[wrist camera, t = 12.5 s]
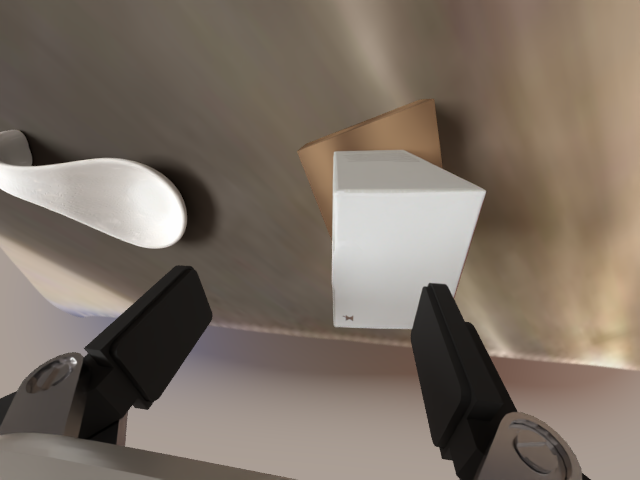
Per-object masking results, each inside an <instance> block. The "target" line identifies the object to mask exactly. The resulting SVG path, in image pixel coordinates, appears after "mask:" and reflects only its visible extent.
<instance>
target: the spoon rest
mask: <svg viewBox="0 0 640 480" xmlns="http://www.w3.org/2000/svg"><path fill="white" fill-rule="evenodd" d="M31 165H32V155H31V151H30V149H29V146H28V141H27V139H26V137H25V135H24V134H23V133H22V132H20V131H18V130H9V131H4V132H0V189H2V190H4V191H5V192H7V193H10V194H12V195H14V196H16V197H18V198H21V199H24V200H26V201H29V202H32V203H34V204H37V205H40V206H42V207H45V208H47V209H50V210H52V211H55V212H57V213H60V214H62V215H65V216H67V217H69V218H72V219H74V220H77V221H79V222H81V223H83V224H86V225H88V226H90V227H92V228H95V229H97V230H99V231H102V232H104V233H106V234H108V235H111V236H113V237H115V238H118V239H121V240H123V241H125V242H128V243H131V244H134V245H137V246H141V247H145V248H165V247H169V246H171V245H173V244H175V243H176V242H178V241H179V240H180V239H181V237H182V236H183V234H184V232H185V229H186V225H187V211H186V206H185V203H184V200H183V198H182V196H181V194H180V192H179V191H178V189H177V188H176V187H175V185H174V184H173V183H172V182H171V181H170V180H169V179H168V178H167V177H166V176H164V175H163V174H161V173H160V172H158V171H157V170H155V169H153V168H151V167H149V166H147V165H145V164H142V163H139V162H136V161H132V160H126V159H119V158H96V159H88V160H80V161H74V162H67V163H60V164H53V165H44V166H31Z"/></svg>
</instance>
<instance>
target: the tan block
mask: <svg viewBox="0 0 640 480" xmlns="http://www.w3.org/2000/svg"><path fill="white" fill-rule="evenodd" d="M373 150H405V151H407V152H409V153H411V154H413V155H415V156H417V157H419V158H422V159H423V160H425V161H428V162H430V163H432V164H433V165H436V166H438V167H440V168H442V169H443V167H442V159H441V151H440V143H439V135H438V127H437V119H436V111H435V102H434V99H421V100H418V101H415V102H413V103H410V104H407V105H405V106H402V107H400V108H397V109H395V110H392V111H389V112H387V113H384V114H382V115H379V116H377V117H374V118H371V119H369V120H366V121H364V122H361V123H359V124H356V125H353V126H351V127H348V128H346V129H343V130H341V131H338V132H335V133H333V134H330V135H328V136H325V137H323V138H320V139H317V140H315V141H312V142H310V143H307V144H305V145H304V146H303V147H302V148H300V149H299V150H298V151H297V152H298V155H299V158H300V160H301V163H302V165H303V168H304V170H305V173H306V176H307V178H308V181H309V183H310V186H311V188H312V191H313V193H314V196H315V199H316V201H317V204H318V206H319V209H320V211H321V214H322V217H323V219H324V222H325V224H326V227H327V229H328V232H329V235H330V237H331V240H332V221H333V157H334V152H335V151H373Z"/></svg>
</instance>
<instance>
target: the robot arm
mask: <svg viewBox="0 0 640 480" xmlns="http://www.w3.org/2000/svg"><path fill="white" fill-rule="evenodd" d="M211 320H212V311H211V309H210V306H209V303H208V300H207V298H206V295H205V292H204V290H203V287H202V284H201V282H200V279H199V276H198V274H197V272H196V271H195V270H194V269H193V267H191V266H179V265H178V266H175V267H174V268H173V269H172V270H170V271H169V272H168V273H167V274H166V275H165V276H164V277H163V278H162V279H160V280H159V281H158V282H157V283H156V284H155V285H154V286H153V287H152V288H150V289H149V290H148V291H147V292H146V293H145V294H144V295H143V296H142V297H140V298H139V299H138V300H137V301H136V302H135V303H134V304H133V305H132V306H130V307H129V308H128V309H127V310H126V311H125V312H124V313H123V314H122V315H120V316H119V317H118V318H117V319H116V320H115V321H114V322H113V323H112V324H110V325H109V326H108V327H107V328H106V329H105V330H104V331H103V332H102V333H100V334H99V335H98V336H97V337H96V338H95V339H94V340H93V341H92V342H90V343H89V344H88V345H87V346H86V347H85V348H84V349H85V350H86V351H87V352H88V354H87V355H86V356H85V357H83V356H82V355H81V354H80V353H76V352H72V353H66V354H63V355H59V356H57V357H55V358H53V359H50V360H49V361H47V362H45V363H44V364H42V365H40V366H39V367H38V368H36V369H35V370H34V371H33V372H31V373H30V374H29V375H28V377H26V378H25V379H24V380H23V382H22V384H21V385H20V387H19V388H18V390H17V391H16V392H14V393H12V394H10V395H7V396H5V397H3V398H1V399H0V480H295V479H291V478H286V477H281V476H276V475H271V474H265V473H260V472H255V471H250V470H245V469H240V468H234V467H229V466H224V465H219V464H214V463H209V462H203V461H198V460H193V459H188V458H183V457H177V456H172V455H167V454H162V453H156V452H151V451H145V450H140V449H135V448H130V447H125V441H126V427H127V416H128V410H129V409H130V407H131V406H132V405H133V406H134V407H135V408H140V409H146V410H148V409H149V407H150V406H151V405H152V403H153V402H154V401H155V400H157V399H158V398H159V397H160V396H161V395H162V393H163V392H164V390H165V389H166V387H167V386H168V384H169V383H170V381H171V380H172V378H173V377H174V375H175V374H176V372H177V371H178V369H179V368H180V366H181V365H182V363H183V362H184V360H185V359H186V357H187V356H188V354H189V353H190V352H191V350H192V349H193V347H194V346H195V344H196V343H197V341H198V340H199V338H200V337H201V335H202V334H203V332H204V331H205V329H206V328H207V326H208V325H209V323H210V322H211ZM411 343H412V348H413V353H414V357H415V362H416V367H417V371H418V376H419V381H420V385H421V390H422V395H423V400H424V404H425V409H426V413H427V418H428V423H429V428H430V432H431V437H432V440H433V444H434V445H435V446H436V447H439V448H440V452H441V456H442V459H446V460H452V461H453V463H454V467H455V471H456V475H457V476H458V477H459V478H460V480H590V479H589V478H588V477H587V476H585V475H584V474H583V473H582V471H581V467H580V465H579V462H578V460H577V458H576V455H575V454H574V453H573V451H572V450H571V448H570V447H569V445H568V444H567V443H566V442H565V440H564V439H563V438H562V437H561V436H560V435H559V434H558V433H557V432H556V431H554V430H553V429H552V428H551V427H550V426H548V425H547V424H546V423H545V422H543V421H541V420H539V419H537V418H535V417H534V416H531V415H528V414H525V413H522V412H517V410H516V408H515V406H514V404H513V402H512V400H511V398H510V396H509V394H508V392H507V390H506V388H505V386H504V384H503V382H502V380H501V378H500V376H499V374H498V372H497V370H496V368H495V366H494V364H493V362H492V361H491V359H490V357H489V355H488V353H487V351H486V349H485V347H484V345H483V343H482V341H481V339H480V337H479V335H478V333H477V331H476V329H475V327H474V326H473V325H472V324H471V323H469V322H465V321H464V319H463V317H462V315H461V313H460V311H459V309H458V307H457V305H456V302H455V300H454V298H453V296H452V294H451V292H450V290H449V288H448V286H447V285H446V284H439V283H429V284H428V286H427V287H426V286H424V287H423V288H422V292H421V296H420V300H419V304H418V308H417V312H416V316H415V319H414V323H413V327H412V331H411Z"/></svg>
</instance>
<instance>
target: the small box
mask: <svg viewBox="0 0 640 480" xmlns="http://www.w3.org/2000/svg"><path fill="white" fill-rule="evenodd" d="M486 193H487V191H486V190H484V189H482V188H481V187H479V186H477V185H475V184H473V183H471V182H469V181H466V180H464V179H462V178H460V177H458V176H456V175H454V174H452V173H450V172H448V171H446V170H444V169H442V168H440V167H438V166H436V165H433V164H432V163H430V162H428V161H425V160H423V159H422V158H419V157H417V156H415V155H413V154H411V153H409V152H407V151H405V150H373V151H335V152H334V157H333V221H332V288H333V320H334V326H335V327H351V328H385V329H412V327H413V323H414V319H415V316H416V312H417V308H418V304H419V300H420V296H421V292H422V288H423V287H424V286H426V287H427V286H428V284H429V283H439V284H446V285H447V286H448V288H449V290H450V292H451V294H452V296H453V298H454V297H455V294H456V291H457V287H458V284H459V280H460V277H461V274H462V271H463V268H464V264H465V261H466V258H467V254H468V251H469V248H470V244H471V241H472V238H473V234H474V231H475V228H476V224H477V221H478V218H479V215H480V212H481V208H482V205H483V202H484V198H485V195H486Z"/></svg>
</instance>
